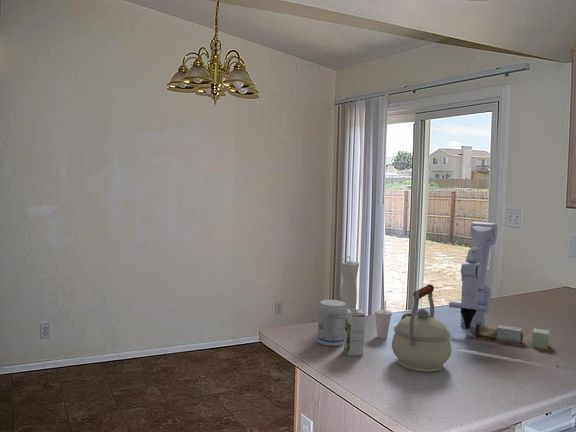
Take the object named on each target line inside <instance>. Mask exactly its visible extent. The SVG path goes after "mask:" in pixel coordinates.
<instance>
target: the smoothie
mask: <svg viewBox="0 0 576 432" xmlns="http://www.w3.org/2000/svg"><path fill="white" fill-rule="evenodd" d="M383 302H384V306H383V307H384V309H377V310H374V315H375V325H376V328H375V329H376V337H377V338H378V339H387V338H388V334H389V329H390V323H391V319H392V318H391V317H392V314H393V312H392V311H390V310H387V300H384V301H383Z"/></svg>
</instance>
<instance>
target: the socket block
mask: <svg viewBox="0 0 576 432" xmlns="http://www.w3.org/2000/svg"><path fill="white" fill-rule="evenodd" d="M549 338H550V330H549V329H548V330H547V329H541V328H535V327H534V328H533V330H532V339H531V340H532V347H537V348H542V349H548V343H549Z"/></svg>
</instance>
